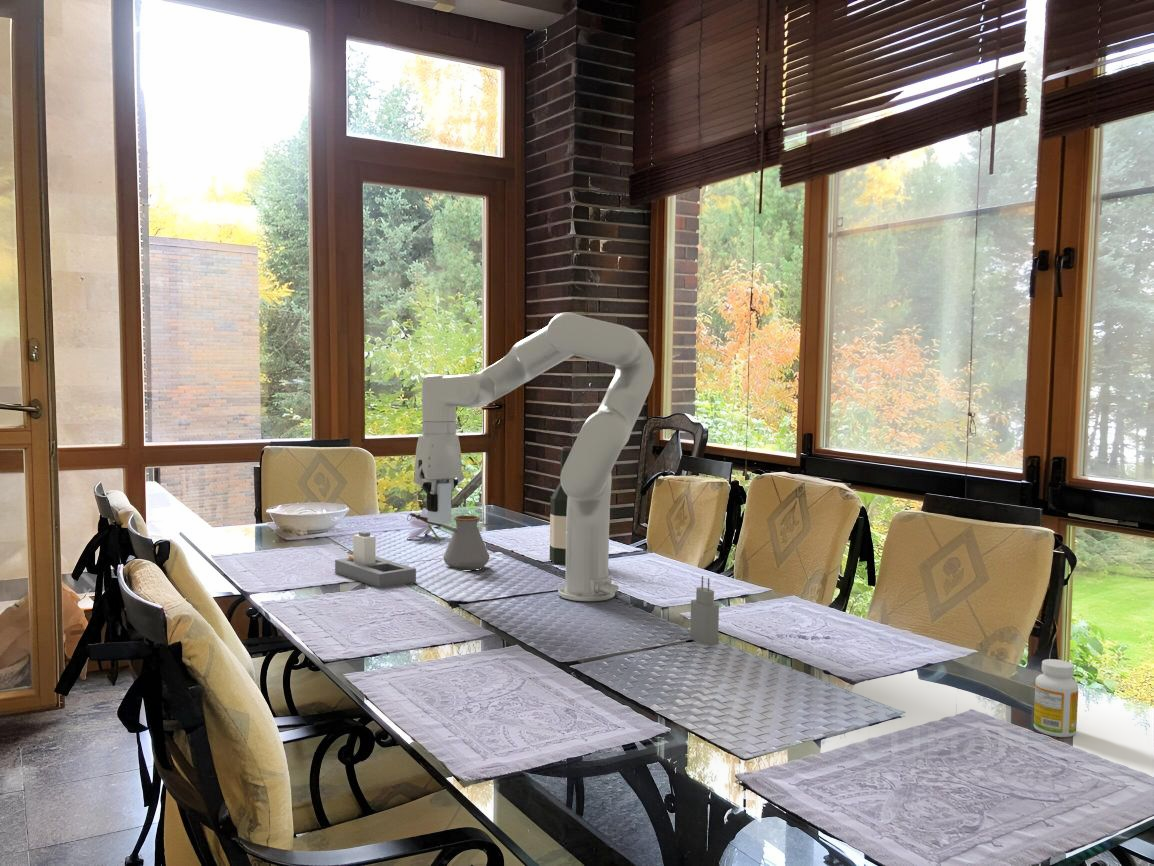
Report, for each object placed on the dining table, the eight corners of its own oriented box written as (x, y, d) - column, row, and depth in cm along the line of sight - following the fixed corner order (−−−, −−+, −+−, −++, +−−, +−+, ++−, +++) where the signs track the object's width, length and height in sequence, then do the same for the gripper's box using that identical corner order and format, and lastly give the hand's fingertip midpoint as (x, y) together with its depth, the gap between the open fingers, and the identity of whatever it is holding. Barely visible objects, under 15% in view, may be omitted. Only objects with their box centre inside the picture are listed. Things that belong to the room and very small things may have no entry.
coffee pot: (476, 562, 238) (477, 504, 237) (497, 570, 228) (498, 510, 227) (398, 570, 226) (398, 509, 225) (416, 579, 217) (417, 516, 216)
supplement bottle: (1062, 723, 133) (1065, 657, 132) (1084, 738, 127) (1088, 669, 127) (1025, 723, 133) (1029, 657, 132) (1046, 738, 127) (1049, 669, 127)
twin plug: (375, 574, 217) (375, 533, 216) (364, 576, 215) (364, 534, 214) (364, 570, 221) (364, 530, 220) (353, 572, 219) (353, 531, 218)
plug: (451, 522, 208) (451, 479, 207) (440, 524, 206) (440, 480, 205) (438, 520, 211) (438, 477, 211) (427, 521, 209) (427, 478, 209)
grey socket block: (415, 585, 210) (416, 566, 210) (379, 592, 204) (379, 571, 204) (370, 571, 225) (370, 552, 225) (335, 576, 218) (335, 557, 218)
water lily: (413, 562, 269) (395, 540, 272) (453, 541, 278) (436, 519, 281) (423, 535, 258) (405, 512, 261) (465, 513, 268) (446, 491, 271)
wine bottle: (581, 565, 236) (583, 448, 234) (548, 564, 236) (550, 448, 234) (581, 558, 244) (583, 445, 243) (550, 558, 245) (551, 445, 243)
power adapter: (706, 645, 168) (708, 580, 167) (688, 638, 173) (689, 574, 172) (719, 643, 169) (721, 579, 169) (701, 635, 174) (703, 573, 173)
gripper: (459, 427, 216) (459, 505, 217) (398, 429, 204) (399, 512, 206) (478, 428, 210) (478, 508, 211) (417, 431, 199) (417, 516, 200)
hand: (439, 509), depth 208 cm, fingers closed on plug, 3 cm apart
